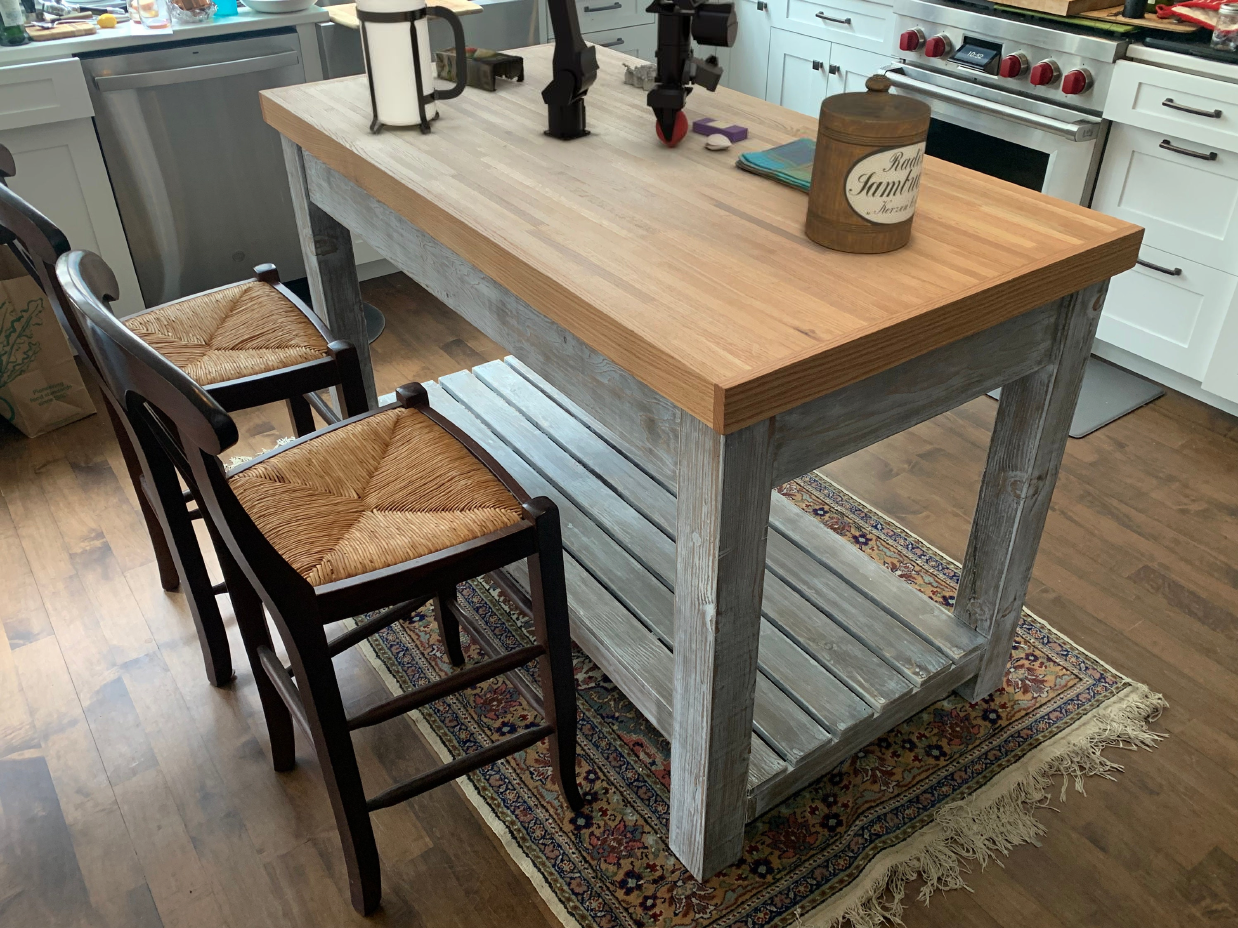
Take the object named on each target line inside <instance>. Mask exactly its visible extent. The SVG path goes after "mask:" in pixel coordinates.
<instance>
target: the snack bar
mask: <svg viewBox="0 0 1238 928" xmlns="http://www.w3.org/2000/svg"><path fill="white" fill-rule="evenodd" d="M691 130H692V132H694V133H697V134H701V135H705V136H707V137H708V136H710V135H713V134H721V135H723V136H725V137H727V138H728V139H729V141H730V142H731V143H732V144H733V143H738V142H740V141H742V140H746V139H748V132H749V128H747V127H744V126H740V125H737V124H733V123H729V122H725V121H722V120H718V119H713V118H710V117H704V118H701V119H697V120H694V121H692V129H691Z"/></svg>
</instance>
